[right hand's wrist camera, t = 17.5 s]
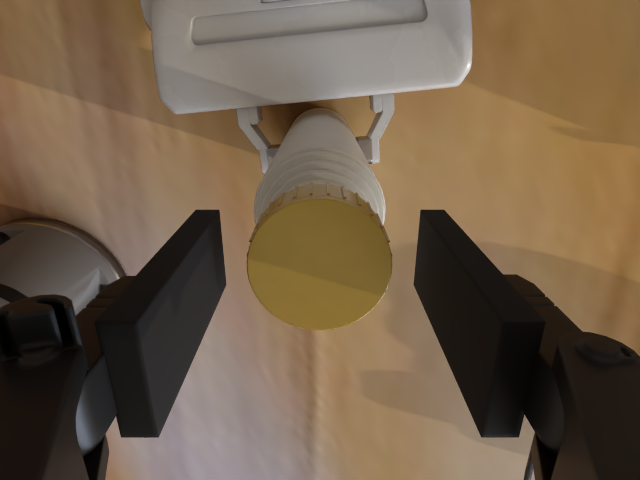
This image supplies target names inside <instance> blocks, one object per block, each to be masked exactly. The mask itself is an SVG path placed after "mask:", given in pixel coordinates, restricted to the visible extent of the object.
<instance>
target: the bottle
mask: <svg viewBox="0 0 640 480" xmlns="http://www.w3.org/2000/svg"><path fill="white" fill-rule="evenodd" d="M312 182H313V184H326V183H329V185H335V186H339V187H341V186H344V188H345V189H347V190H349V191H351V192H353V193H356V192H357V193H358V195H359V197H361V198H362V199H363V200H364V201H366V203H367V202H369V203H370V206H371V208H372V209H373V211H374V212H375V213H378V215H379V218H380V220H381V222H382V225H383V224H384V219H385V200H384V195H383V192H382V188H381V186H380V184H379V182H378V180H377V178H376V176H375V174H374V172H373V171H372V169H371V167H370V165H369V163H368V161H367V159H366V158H365V156H364V154H363V152H362V150H361V148H360V146H359V145H358V143H357V141H356V139H355V137H354V135H353V133H352V132H351V130H350V128H349V126H348V124H347V123H346V121H345V120H344V119H343V118H342V117H341V116H340V115H339V114H338V113H336V112H334V111H332V110H330V109H326V108H314V109H310V110H307V111H305V112H303V113H302V114H300V115H299V116H298V117H297V118H296V119H295V121H294V122H293V124H292V125H291V127H290V129H289V131H288V133H287V134H286V136H285V138H284V140H283V142H282V144H281V145H280V147H279V149H278V151H277V153H276V155H275V156H274V158H273V160H272V162H271V164H270V166H269V167H268V169H267V171H266V173H265V175H264V177H263V178H262V180H261V182H260V184H259V187H258V189H257V192H256V196H255V202H254V217H255V223H256V225H257V222H258V220H259V218H260V215H261V213H264V212H265V211H266V209H267V208H268V206H269V203H270V202H271V201H272V202H274V201H275V200H276V199H277V198H278V197H280V196H281V193H283V192H284V193H286V192H288V191H290V190H292V189H294V188H295V186H298V187H300V186H304V185H310V183H312Z"/></svg>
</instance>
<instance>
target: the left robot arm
mask: <svg viewBox="0 0 640 480" xmlns="http://www.w3.org/2000/svg"><path fill="white" fill-rule="evenodd" d="M140 3H141V7H142V12H143V16H144V19H145V22H146V24H147V26H148V28H149V29H150V30H151V37H152V51H153V61H154V69H155V76H156V82H157V88H158V93H159V97H160V100H161V101H162V103H163V104H164V105H165V106H167V107H168V108H169V109H170V110H171V111H172V112H173V113H174V114H186V113H196V112H206V111H216V110H226V109H236V111H237V117H238V124H239V127H240V128H241V130H242V131H243V132H244V133H245V135H246V136H247V137H248V139H249V140H250V141H251V143H252V144H253V145H254V146H255V148H256V149H257V150H259V154H260V160H261V167H262V172H263V174H265V173H266V171H267V169H268V167H269V166H270V164H271V162H272V160H273V158H274V156H275V155H276V153H277V151H278V149H279V147H280V145H281V144H276V145H271V144H270V143H269V141H268V140H267V138H266V137H265V136H264V134H263V133H262V131H261V130H260V129H259V127H258V126H257V124H258V123H259V122H261V121H262V119H263V118H262V110H261V106H267V105H277V104H287V103H297V102H307V101H317V100H327V99H338V98H348V97H358V96H368V95H369V98H370V109H371V110H372V111H374V112H375V113H377V114H376V116H375V118H374V121H373V123H372V125H371V127H370V129H369V131H368V133H367V136H360V137H356V141H357V143H358V145H359V146H360V148H361V150H362V152H363V154H364V156H365V158H366V159H367V161H368V163H369V164H374V163H379V159H380V158H379V138H381V136H382V134H383V132H384V130H385V128H386V126H387V124H388V122H389V121H390V119H391V117H392V115H393V113H394V93H398V92H408V91H418V90H428V89H439V88H448V87H457V86H459V85H460V84H461V83H462V81H463V80H464V79H465V77H466V76H467V74H468V73H469V71H470V69H471V65H472V18H471V5H470V0H140Z"/></svg>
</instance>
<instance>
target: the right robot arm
mask: <svg viewBox="0 0 640 480" xmlns="http://www.w3.org/2000/svg"><path fill="white" fill-rule="evenodd" d="M225 286H226V276H225V266H224V255H223V244H222V234H221V223H220V212H219V210H195V211H194V213H193V214H192V215H191V216H190V217H189V218H188V219H187V220H186V221H185V222H184V224H183V225H182V226H181V227H180V228H179V229H178V230H177V231H176V232H175V233H174V235H173V236H172V237H171V238H170V239H169V240H168V241H167V242H166V243H165V244H164V246H163V247H162V248H161V249H160V250H159V251H158V252H157V253H156V254H155V255H154V257H153V258H152V259H151V260H150V261H149V262H148V263H147V264H146V265H145V266H144V268H143V269H142V270H141V271H140V272H139V273H138V274H137V275H136V276H126V274H125V272H124V270H123V268H122V267H121V265H120V264H119V262H118V261H117V259H116V258H115V257H114V256H113V254H112V253H111V252H110V251H109V250H108V249H107V248H106V247H105V246H104V245H103V244H101V243H100V242H99V241H98V240H96V239H95V238H94V237H92V236H91V235H89V234H87V233H86V232H84V231H82V230H80V229H78V228H76V227H74V226H71V225H69V224H66V223H63V222H60V221H56V220H51V219H44V218H24V219H18V220H14V221H11V222H8V223H5V224H3V225H1V226H0V480H105V477H106V470H107V463H108V456H109V448H108V442H107V438H106V434H105V433H106V432H107V430H108V428H109V427H110V425H111V423H112V422H113V420H114V418H115V417H116V418H117V422H118V426H119V430H120V435H121V437H159V435H160V433H161V431H162V429H163V426H164V424H165V422H166V420H167V417H168V415H169V413H170V411H171V408H172V406H173V404H174V401H175V399H176V397H177V395H178V392H179V390H180V388H181V386H182V383H183V381H184V379H185V377H186V374H187V372H188V370H189V368H190V365H191V363H192V361H193V359H194V356H195V354H196V352H197V350H198V347H199V345H200V343H201V341H202V338H203V336H204V334H205V332H206V329H207V327H208V325H209V323H210V320H211V318H212V316H213V314H214V311H215V309H216V307H217V304H218V302H219V300H220V298H221V295H222V293H223V291H224V289H225ZM414 286H415V289H416V291H417V293H418V295H419V298H420V300H421V302H422V304H423V307H424V309H425V311H426V314H427V316H428V318H429V320H430V323H431V325H432V327H433V329H434V332H435V334H436V336H437V338H438V341H439V343H440V345H441V347H442V350H443V352H444V354H445V356H446V359H447V361H448V363H449V365H450V368H451V370H452V372H453V374H454V377H455V379H456V381H457V383H458V386H459V388H460V390H461V392H462V395H463V397H464V399H465V401H466V404H467V406H468V408H469V411H470V413H471V415H472V417H473V420H474V422H475V424H476V426H477V429H478V431H479V433H480V435H481V437H519V435H520V430H521V426H522V422H523V418H524V414H525V416H526V418H527V419H528V421H529V423H530V424H531V426H532V428H533V429H534V431H535V434H534V438H533V442H532V446H531V450H530V454H529V458H528V462H527V466H526V470H525V475H524V480H531V476H532V472H534V475H535V480H640V357H639V355H638V354H637V353H636V352H635V351H634V350H632V349H630V348H629V347H627V346H626V345H624V344H623V343H621V342H618V341H616V340H614V339H611V338H609V337H607V336H603V335H599V334H595V333H591V332H582V331H581V330H580V329H579V328H578V327H577V326H576V325H575V324H574V323H573V322H572V321H571V320H570V319H569V318H568V317H567V316H566V315H565V314H564V313H563V312H562V311H561V310H560V309H559V308H558V307H557V306H554V303H553V302H552V301H551V300H550V299H549V298H548V297H545V294H544V293H543V292H542V291H541V290H540V289H539V288H538V287H537V286H535V285H534V284H533V283H531V282H529V281H528V280H526V279H524V278H522V277H520V276H518V275H503V274H502V273H501V272H500V271H499V270H498V269H497V268H496V266H495V265H494V264H493V263H492V262H491V261H490V260H489V259H488V258H487V257H486V255H485V254H484V253H483V252H482V251H481V250H480V249H479V248H478V247H477V246H476V244H475V243H474V242H473V241H472V240H471V239H470V238H469V237H468V236H467V235H466V233H465V232H464V231H463V230H462V229H461V228H460V227H459V226H458V225H457V224H456V222H455V221H454V220H453V219H452V218H451V217H450V216H449V215H448V214H447V212H446V211H445V210H421V212H420V223H419V234H418V244H417V255H416V266H415V276H414Z"/></svg>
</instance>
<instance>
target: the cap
mask: <svg viewBox="0 0 640 480" xmlns="http://www.w3.org/2000/svg"><path fill="white" fill-rule="evenodd" d="M249 242H251V244H250V246H249V250H248V253H247V273H248V278H249V282H250V285H251V287H252V290H253V292H254V293H255V295H256V297H257V298H258V300H259V301H260V303H261V304H262V305H263V306H264V307H265V308H266V309H267V310H268V311H269V312H270V313H271V314H273V315H274V316H275V317H277V318H278V319H280V320H282V321H284V322H286V323H288V324H290V325H293V326H296V327H299V328H304V329H310V330H329V329H335V328H340V327H343V326H346V325H349V324H351V323H353V322H355V321H357V320H359V319H361V318H362V317H364V316H365V315H366V314H368V313H369V312H370V311H371V310H372V309H373V308H374V307H375V306H376V305H377V304H378V303H379V301H380V300H381V298H382V297H383V295H384V293H385V292H386V290H387V287H388V285H389V282H390V278H391V274H392V253H391V250H390V247H389V244H388V243H389V242H390V241H389V238H388V236H387V233H386V231H385V229H384V226H383V225H382V222H381V220H380V218H379V215H378V213H375V212H374V211H373V209H372V208H371V206H370V203H369V202H367V203H366V201H364V200H363V199H362V198H361V197H359V195H358V193H357V192H356V193H353V192H351V191H349V190H347V189H345V188H344V186H341V187H339V186H335V185H329V183H326V184H313V182H312V183H310V185H304V186H300V187H298V186H295V188H294V189H292V190H290V191H288V192H286V193H284V192H283V193H281V196H280V197H278V198H277V199H276V200H275V201H274V202H272V201H271V202H270V203H269V206H268V208H267V209H266V211H265V212H264V213H261V215H260V218H259V220H258V222H257V225H256V226H255V229H254V231H253V233H252V236H251V238H250V241H249Z"/></svg>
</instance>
